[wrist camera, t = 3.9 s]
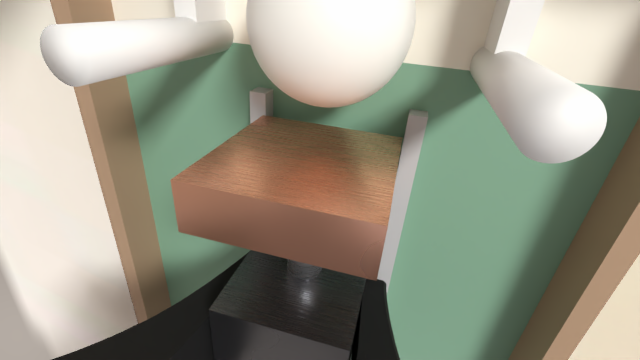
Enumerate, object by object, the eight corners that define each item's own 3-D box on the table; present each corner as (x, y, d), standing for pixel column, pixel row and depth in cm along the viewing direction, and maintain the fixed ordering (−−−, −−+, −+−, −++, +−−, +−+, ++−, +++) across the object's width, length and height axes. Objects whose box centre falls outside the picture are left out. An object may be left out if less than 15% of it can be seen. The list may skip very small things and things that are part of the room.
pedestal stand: (362, 334, 14) (336, 475, 10) (270, 308, 15) (209, 428, 10) (403, 130, 10) (387, 226, 5) (270, 109, 10) (170, 179, 6)
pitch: (479, 408, 16) (506, 607, 11) (181, 318, 19) (89, 438, 14) (752, -102, 7) (1763, -420, 2) (103, -114, 10) (-245, -240, 5)
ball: (395, 126, 6) (442, -125, 5) (207, 96, 7) (216, -127, 6) (399, 113, 9) (427, -36, 8) (275, 95, 10) (288, -45, 9)
